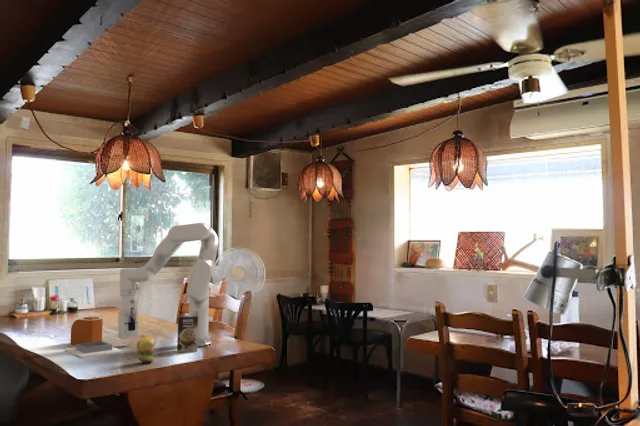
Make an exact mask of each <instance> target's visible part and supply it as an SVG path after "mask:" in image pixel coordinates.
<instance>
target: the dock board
mask: <svg viewBox="0 0 640 426" xmlns="http://www.w3.org/2000/svg"><path fill="white" fill-rule="evenodd" d="M64 350H65V352H67V351H68V352H67V353H70V354H72V355H75V356H76V357H78V356H79V357H78V358H80V359H88V358H94V357H96V358H97V357H100V356H101V357H103V356H108V355H110V356H111V355H116V354H124V353H125V351H124V350H122V349H120V348H117V347H115V346H113V343H109V342H107V341H104V340H102V341H99V342H91V343H82V344H76V345H75V347H67V348H65V349H64Z"/></svg>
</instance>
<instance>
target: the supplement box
mask: <svg viewBox="0 0 640 426" xmlns="http://www.w3.org/2000/svg"><path fill="white" fill-rule="evenodd" d="M129 315H130V316H132V313H130V314H129ZM117 317H118V318H117V319H118V324H117V325H118V338H119V339H122V340H126V339H127V340H128V339H134V338H139V311H138V310H137V316H136V319H135V320H136V321H135V330H132V331H128V322H129V317H127V313H126V312H120V311H118V316H117ZM130 319H131V317H130Z"/></svg>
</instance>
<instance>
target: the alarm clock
mask: <svg viewBox="0 0 640 426" xmlns="http://www.w3.org/2000/svg"><path fill="white" fill-rule="evenodd" d="M103 319H104V318H102V317H99V316H85V317H83V318H79V319H76V320H74V322H73V323H72V325H71V328H70V345H72V346H76V344H82V343H91V342H99V341H103V325H104V324H103V321H104V320H103Z"/></svg>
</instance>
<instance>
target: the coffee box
mask: <svg viewBox="0 0 640 426" xmlns="http://www.w3.org/2000/svg"><path fill="white" fill-rule="evenodd" d="M197 342H198V316H197V315H194V316H189V315H177V340H176V343H177V344H176V352H177V353H195V352H194V351H197V352H198V346H197Z"/></svg>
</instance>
